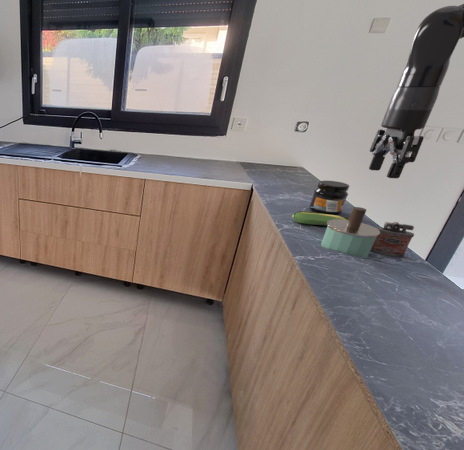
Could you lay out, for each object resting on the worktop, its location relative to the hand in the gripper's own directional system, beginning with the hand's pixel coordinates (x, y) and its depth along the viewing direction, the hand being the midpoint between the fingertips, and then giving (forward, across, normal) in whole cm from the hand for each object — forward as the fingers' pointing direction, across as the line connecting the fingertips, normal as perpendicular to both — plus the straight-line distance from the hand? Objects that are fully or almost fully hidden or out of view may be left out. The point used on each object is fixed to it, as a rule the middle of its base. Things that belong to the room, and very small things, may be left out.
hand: (382, 173), depth 81 cm
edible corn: (+27, +30, -4) cm, 40 cm away
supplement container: (+27, +46, -10) cm, 54 cm away
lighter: (+27, +10, -14) cm, 32 cm away
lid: (+19, +9, -2) cm, 21 cm away
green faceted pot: (+27, +9, -2) cm, 28 cm away
